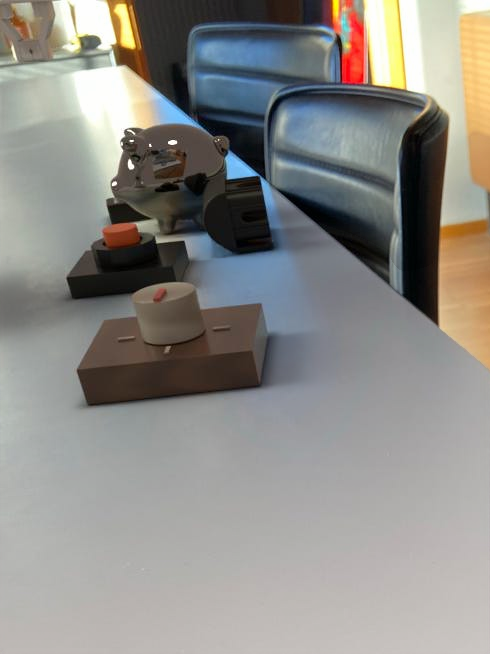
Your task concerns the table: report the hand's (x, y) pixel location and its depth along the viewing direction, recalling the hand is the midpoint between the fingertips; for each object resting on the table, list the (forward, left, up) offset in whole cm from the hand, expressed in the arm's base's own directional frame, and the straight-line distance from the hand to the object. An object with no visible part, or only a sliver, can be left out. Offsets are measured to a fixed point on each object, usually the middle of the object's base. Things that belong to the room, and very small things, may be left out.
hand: (36, 61), depth 94 cm
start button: (+2, +4, -18) cm, 19 cm away
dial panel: (+11, -25, -21) cm, 35 cm away
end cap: (+13, +14, -22) cm, 29 cm away
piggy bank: (+5, +25, -22) cm, 34 cm away
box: (+2, +4, -21) cm, 22 cm away
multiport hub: (0, +33, -22) cm, 40 cm away
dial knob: (+11, -25, -18) cm, 33 cm away
